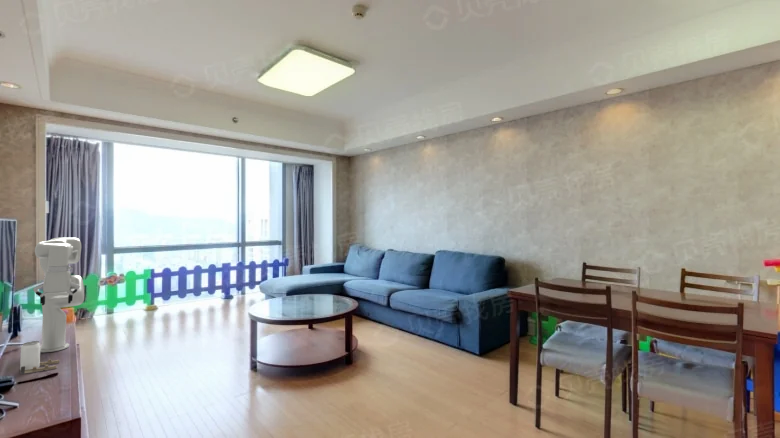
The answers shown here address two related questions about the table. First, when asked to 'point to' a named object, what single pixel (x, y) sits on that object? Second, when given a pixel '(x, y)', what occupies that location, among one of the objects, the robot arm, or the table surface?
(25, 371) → the comb channel
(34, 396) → the table surface
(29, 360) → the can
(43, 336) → the robot arm
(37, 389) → the table surface
